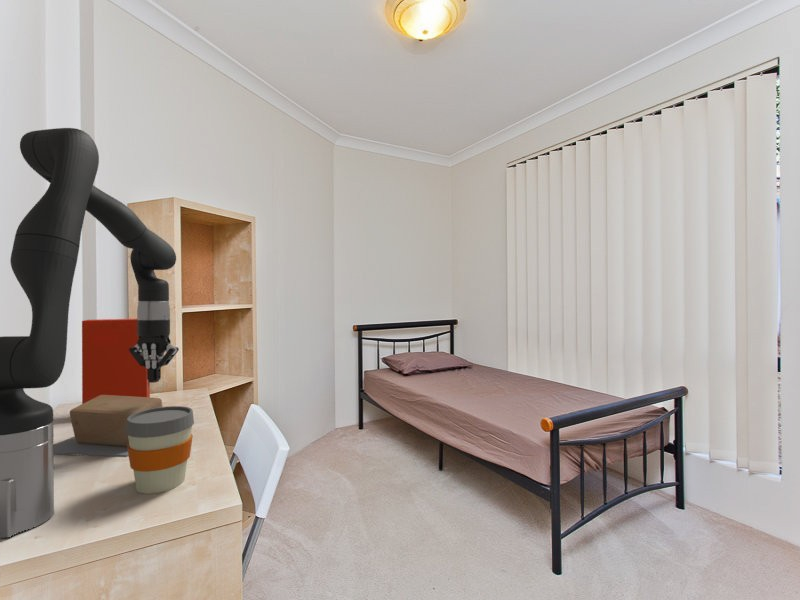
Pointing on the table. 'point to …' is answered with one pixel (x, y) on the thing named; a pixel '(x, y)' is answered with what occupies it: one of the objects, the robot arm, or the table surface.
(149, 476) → the reusable coffee cup
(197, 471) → the table surface
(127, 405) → the wooden block
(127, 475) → the table surface
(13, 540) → the table surface
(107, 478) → the table surface
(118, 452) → the mat
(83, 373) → the file binder
